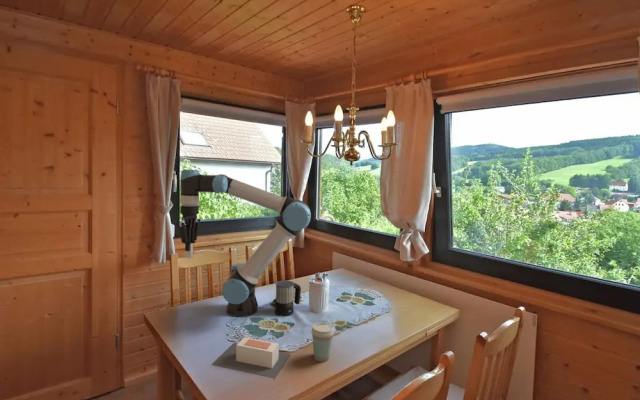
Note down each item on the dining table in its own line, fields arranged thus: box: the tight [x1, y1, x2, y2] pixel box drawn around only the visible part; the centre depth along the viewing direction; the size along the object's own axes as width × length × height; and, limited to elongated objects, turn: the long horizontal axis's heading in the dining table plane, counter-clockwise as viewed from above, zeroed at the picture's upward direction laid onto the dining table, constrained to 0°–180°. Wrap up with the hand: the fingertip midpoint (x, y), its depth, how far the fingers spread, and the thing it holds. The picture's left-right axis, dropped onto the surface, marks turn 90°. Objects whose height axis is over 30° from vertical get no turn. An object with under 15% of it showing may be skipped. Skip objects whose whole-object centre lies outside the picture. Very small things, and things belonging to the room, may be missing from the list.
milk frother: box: [271, 280, 302, 317], centre depth 170 cm, size 14×16×15 cm
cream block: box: [236, 337, 280, 368], centre depth 124 cm, size 6×6×14 cm
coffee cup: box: [311, 322, 335, 362], centre depth 128 cm, size 8×9×12 cm
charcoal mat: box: [211, 342, 291, 380], centre depth 124 cm, size 24×16×1 cm, turn 75°
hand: (189, 257), depth 150 cm, fingers closed
